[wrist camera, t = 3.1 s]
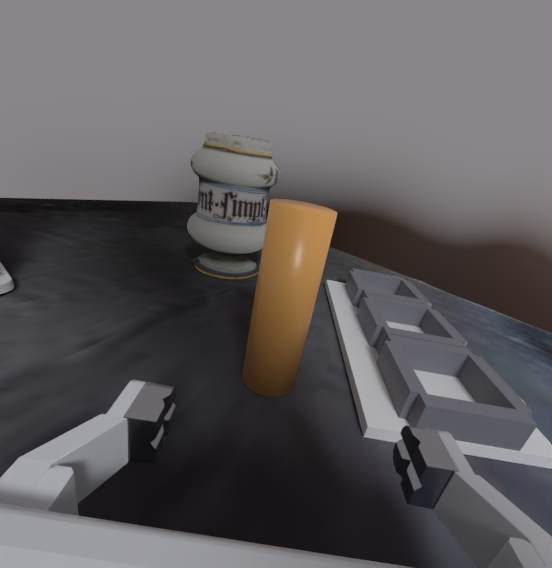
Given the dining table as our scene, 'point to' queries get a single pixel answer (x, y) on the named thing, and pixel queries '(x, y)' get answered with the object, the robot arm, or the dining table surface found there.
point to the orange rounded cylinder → (286, 293)
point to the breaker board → (425, 373)
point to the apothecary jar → (231, 203)
